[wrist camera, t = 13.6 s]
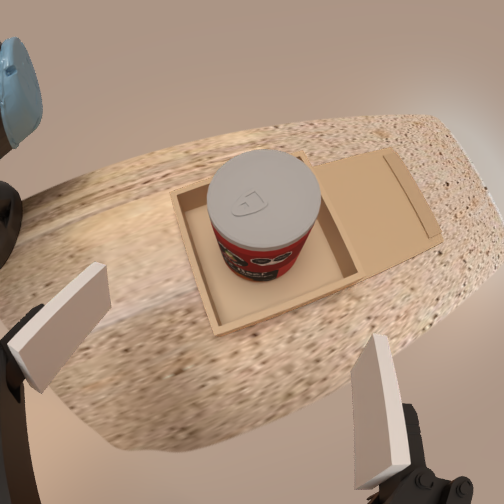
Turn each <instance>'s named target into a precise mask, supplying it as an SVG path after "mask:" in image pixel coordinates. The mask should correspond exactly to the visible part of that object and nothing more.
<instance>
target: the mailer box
mask: <svg viewBox="0 0 504 504" xmlns="http://www.w3.org/2000/svg"><path fill="white" fill-rule="evenodd" d="M290 155H292V156H295V157H296V158H298V159H299V160H301V161H302V162H303V163H305V164H306V165H307V166H308V167H309V168H310V169H311V171H312V172H313V174H314V175H315V177H316V179H317V181H318V183H319V187H320V191H321V204H320V209H319V213H318V217H317V219H316V221H315V224H314V226H313V228H312V230H311V232H310V234H309V236H308V238H307V240H306V242H305V244H304V246H303V248H302V250H301V252H300V254H299V256H298V257H297V259H296V261H295V263H294V265H293V266H292V267H291V268H290V269H289V270H288V271H287V272H286V273H285V274H283V275H282V276H280V277H278V278H276V279H273V280H270V281H263V282H255V281H249V280H246V279H243V278H241V277H239V276H237V275H236V274H235V273H234V272H232V271H231V270H230V268H229V267H228V266H227V265H226V263H225V261H224V259H223V256H222V254H221V251H220V248H219V245H218V242H217V239H216V237H215V234H214V231H213V228H212V225H211V221H210V218H209V214H208V210H207V193H208V188H209V185H210V183H211V180H212V178H213V177H211V178H208V179H205V180H202V181H199V182H196V183H194V184H191V185H188V186H185V187H182V188H180V189H177V190H174V191H171V192H169V193H170V197H171V200H172V204H173V208H174V211H175V215H176V218H177V222H178V225H179V229H180V232H181V235H182V239H183V242H184V245H185V249H186V252H187V255H188V258H189V262H190V265H191V268H192V271H193V274H194V277H195V280H196V284H197V287H198V290H199V293H200V296H201V299H202V302H203V305H204V308H205V311H206V313H207V316H208V319H209V322H210V325H211V328H212V331H213V333H214V336H219V337H221V336H224V335H227V334H230V333H232V332H235V331H238V330H241V329H244V328H246V327H249V326H252V325H255V324H257V323H260V322H263V321H265V320H268V319H271V318H273V317H276V316H279V315H281V314H284V313H286V312H289V311H291V310H294V309H297V308H299V307H302V306H304V305H307V304H309V303H311V302H314V301H316V300H319V299H321V298H324V297H326V296H328V295H331V294H333V293H335V292H338V291H340V290H342V289H345V288H347V287H349V286H352V285H354V284H356V283H358V282H361V281H363V280H365V279H367V278H370V277H372V276H374V275H376V274H378V273H381V272H383V271H385V270H387V269H389V268H391V267H393V266H395V265H398V264H400V263H402V262H404V261H406V260H408V259H410V258H412V257H414V256H416V255H418V254H420V253H422V252H424V251H426V250H428V249H430V248H432V247H434V246H436V245H438V244H440V243H442V242H443V241H444V240H443V237H442V235H441V232H442V231H441V229H440V227H439V225H438V223H437V221H436V219H435V217H434V215H433V213H432V211H431V209H430V207H429V205H428V204H427V202H426V200H425V198H424V196H423V194H422V193H421V191H420V189H419V187H418V186H417V184H416V182H415V181H414V179H413V177H412V176H411V174H410V172H409V171H408V169H407V167H406V166H405V164H404V163H403V161H402V160H401V158H400V156H399V155H398V153H397V152H394V151H393V149H392V148H391V147H389V148H385V149H381V150H376V151H372V152H368V153H364V154H360V155H356V156H352V157H348V158H344V159H340V160H337V161H333V162H329V163H325V164H322V165H318V166H315V167H312V165H311V164H310V162H309V160H308V158H307V156H306V155H305V153H304V151H303V150H302V151H298V152H294V153H291V154H290Z"/></svg>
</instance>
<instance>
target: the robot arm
mask: <svg viewBox="0 0 504 504" xmlns="http://www.w3.org/2000/svg"><path fill="white" fill-rule="evenodd" d="M42 108H43V106H42V99H41V93H40V88H39V84H38V80H37V77H36V73H35V70H34V67H33V65H32V62H31V59H30V57H29V54H28V52H27V50H26V48H25V46H24V45H23V43H22V42H21V41H20V39H19V38H17V37H12V38H10V39H7V40H5V41H4V42H3V43H1V42H0V159H1V158H2V157H3V156H4V155H6V154H7V153H8V152H9V151H10V150H12V149H16V148H17V147H18V146H19V143H20V142H21V141H23V140H24V139H25V138H26V137H27V136H28V135H30V134H31V133H32V132H33V131H34V130H35V129H36V128H37V127H38V125H39V124H40V121H41V118H42V112H43V109H42ZM21 218H22V203H21V198H20V196H19V193H18V192H17V191H16V190H15V189H14V188H13V187H12V186H10V185H9V184H8V183H6V182H3V181H0V268H1V267H2V266H3V264H4V263H5V261H6V260H7V258H8V256H9V255H10V253H11V251H12V249H13V246H14V244H15V241H16V239H17V236H18V232H19V229H20V224H21ZM110 309H111V301H110V294H109V286H108V277H107V268H106V265H105V264H101V263H98V262H95V261H94V262H93V263H92V264H91V265H90V266H88V267H87V268H86V269H85V270H84V271H83V272H81V273H80V274H79V275H78V276H77V277H76V278H75V279H73V280H72V281H71V282H70V283H69V284H68V285H67V286H66V287H65V288H63V289H62V290H61V291H60V292H59V293H58V294H57V295H56V296H55V297H54V298H53V299H51V300H50V301H49V302H48V303H47V304H46V305H44V304H40V305H38V306H36V307H34V308H32V309H31V310H30V311H29V312H28V313H27V314H26V316H24V317H23V318H22V319H21V320H20V322H18V323H17V324H16V325H15V326H14V327H13V328H12V329H11V330H10V331H9V332H8V333H7V334H6V335H5V336H4V337H3V338H2V339H1V340H0V504H41V501H40V498H39V494H38V490H37V485H36V481H35V476H34V472H33V467H32V461H31V455H30V449H29V442H28V434H27V425H26V413H25V397H24V384H23V381H24V379H25V378H26V380H27V382H28V383H29V385H30V386H31V387H32V388H34V389H35V390H37V391H38V392H39V393H41V394H42V393H43V392H44V390H45V389H46V388H47V386H48V385H49V384H50V382H51V381H52V380H53V378H54V377H55V376H56V375H57V373H58V372H59V371H60V369H61V368H62V367H63V366H64V364H65V363H66V362H67V360H68V359H69V358H70V357H71V355H72V354H73V353H74V352H75V350H76V349H77V348H78V347H79V345H80V344H81V343H82V342H83V341H84V339H85V338H86V337H87V336H88V335H89V333H90V332H91V331H92V330H93V329H94V327H95V326H96V325H97V324H98V323H99V321H100V320H101V319H102V318H103V317H104V316H105V314H106V313H107V312H108V311H109V310H110ZM351 384H352V398H353V417H354V447H355V448H354V449H355V450H354V451H355V482H354V483H355V484H354V489H355V490H369V489H373V488H375V487H376V486H378V485H379V492H377V493H375V494H373V495H372V496H370V497H369V498H367V500H370V499H371V500H370V501H369V503H368V504H471V500H472V495H473V484H472V482H471V481H470V479H468V478H467V477H464V476H461V477H458V478H456V479H455V480H453V481H449V480H445V479H440V478H437V477H435V474H434V473H433V471H431V469H429V468H427V467H426V464H425V457H424V450H423V444H422V438H421V435H420V427H419V421H418V416H417V413H416V411H415V409H414V408H413V406H412V404H404V403H402V401H401V396H400V391H399V386H398V382H397V377H396V372H395V367H394V363H393V359H392V354H391V350H390V346H389V342H388V338H387V336H385V335H380V334H375V333H373V334H372V336H371V337H370V339H369V341H368V343H367V344H366V346H365V348H364V350H363V351H362V353H361V355H360V356H359V358H358V360H357V361H356V363H355V365H354V366H353V368H352V369H351Z"/></svg>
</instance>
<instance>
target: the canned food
mask: <svg viewBox="0 0 504 504" xmlns="http://www.w3.org/2000/svg"><path fill="white" fill-rule="evenodd" d="M320 204H321V191H320V187H319V183H318V181H317V179H316V177H315V175H314V174H313V172H312V171H311V169H310V168H309V167H308V166H307V165H306V164H305V163H303V162H302V161H301V160H299V159H298V158H296V157H295V156H292V155H290V154H288V153H285V152H281V151H277V150H268V149H262V150H253V151H249V152H245V153H242V154H240V155H238V156H235V157H234V158H232V159H230V160H229V161H227V162H226V163H225V164H224V165H223V166H222V167H221V168H220V169H219V170H218V171H217V172H216V174H215V175H214V176H213V178H212V180H211V183H210V185H209V188H208V193H207V210H208V214H209V218H210V221H211V225H212V228H213V231H214V234H215V237H216V239H217V242H218V245H219V248H220V251H221V254H222V256H223V259H224V261H225V263H226V265H227V266H228V267H229V268H230V270H231V271H232V272H234V273H235V274H236V275H237V276H239V277H241V278H243V279H246V280H249V281H255V282H263V281H270V280H273V279H276V278H278V277H280V276H282V275H283V274H285V273H286V272H287V271H288V270H289V269H290V268H291V267H292V266H293V265H294V263H295V261H296V259H297V257H298V256H299V254H300V252H301V250H302V248H303V246H304V244H305V242H306V240H307V238H308V236H309V234H310V232H311V230H312V228H313V226H314V224H315V221H316V219H317V217H318V213H319V209H320Z"/></svg>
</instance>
